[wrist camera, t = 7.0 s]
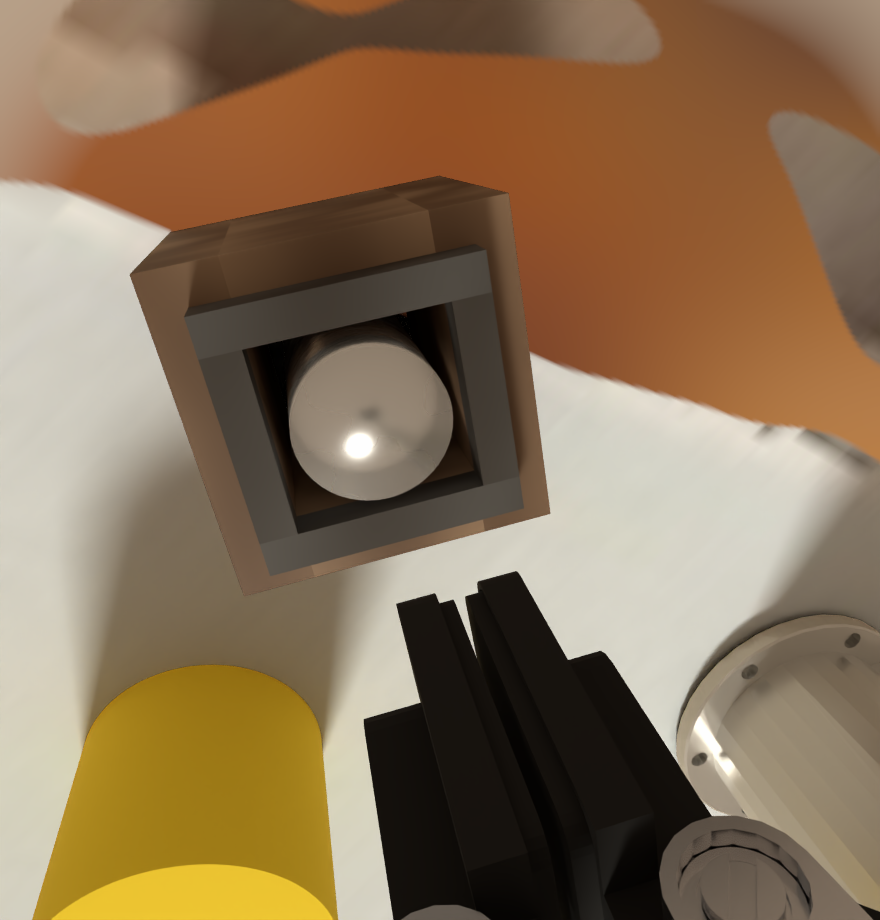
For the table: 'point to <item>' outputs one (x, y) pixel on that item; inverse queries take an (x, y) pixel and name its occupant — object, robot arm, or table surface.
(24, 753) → the table surface
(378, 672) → the table surface
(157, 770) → the tape roll
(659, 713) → the table surface
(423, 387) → the peg
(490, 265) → the socket block
